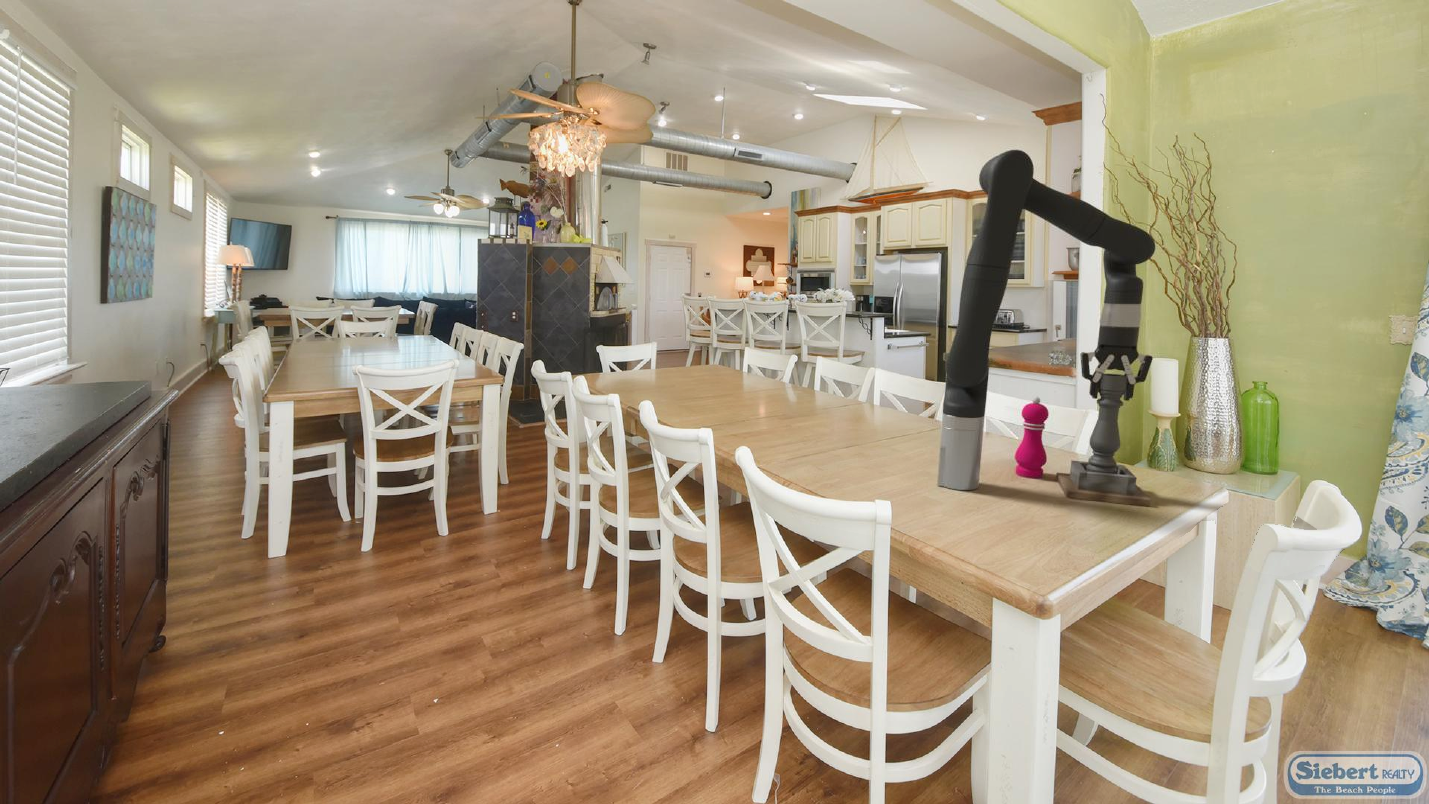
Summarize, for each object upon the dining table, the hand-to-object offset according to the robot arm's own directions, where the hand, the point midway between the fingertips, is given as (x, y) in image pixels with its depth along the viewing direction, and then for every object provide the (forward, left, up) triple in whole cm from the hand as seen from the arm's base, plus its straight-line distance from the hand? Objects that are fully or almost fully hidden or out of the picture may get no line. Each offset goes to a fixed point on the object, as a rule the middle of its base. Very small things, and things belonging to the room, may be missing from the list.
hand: (1110, 398), depth 143 cm
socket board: (0, 0, -22) cm, 22 cm away
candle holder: (0, 0, -20) cm, 20 cm away
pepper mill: (-14, +9, -22) cm, 28 cm away
